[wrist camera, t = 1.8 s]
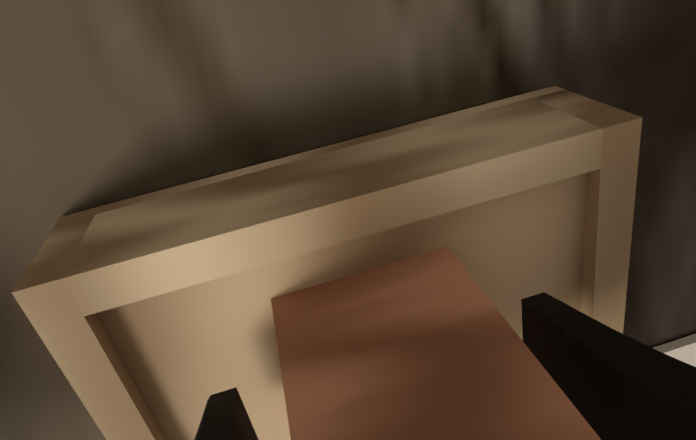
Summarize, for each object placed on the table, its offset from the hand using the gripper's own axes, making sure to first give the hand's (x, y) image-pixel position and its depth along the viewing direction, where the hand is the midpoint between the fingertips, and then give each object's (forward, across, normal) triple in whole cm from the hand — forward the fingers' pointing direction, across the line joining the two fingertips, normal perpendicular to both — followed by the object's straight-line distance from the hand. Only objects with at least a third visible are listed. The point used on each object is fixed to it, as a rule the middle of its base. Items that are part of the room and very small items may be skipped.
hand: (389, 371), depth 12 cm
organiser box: (+4, 0, +4) cm, 5 cm away
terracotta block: (+1, 0, 0) cm, 1 cm away
